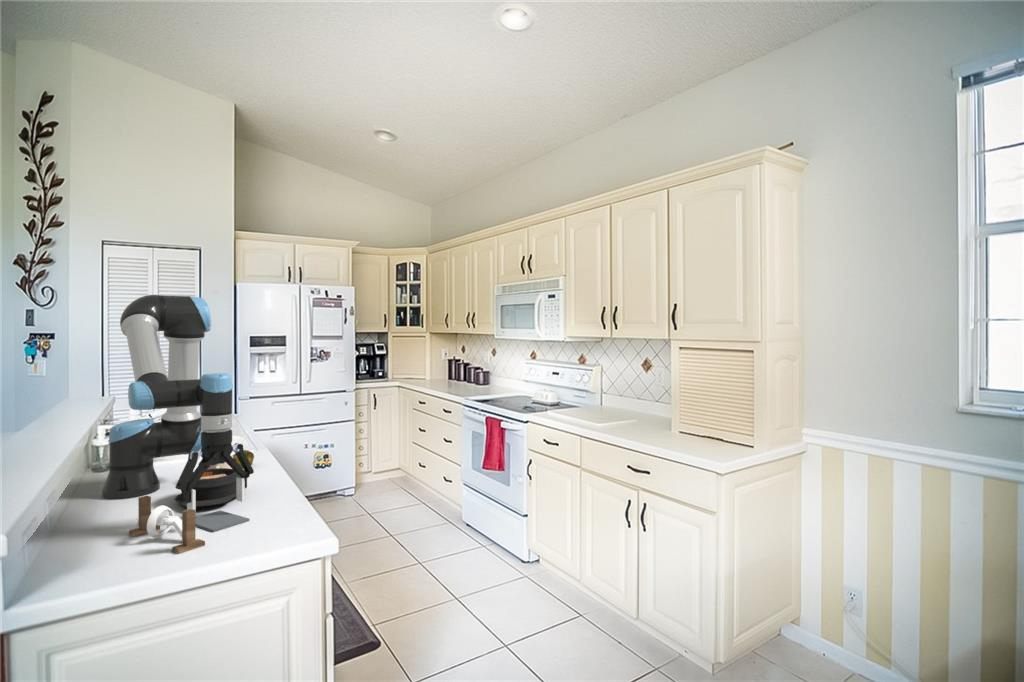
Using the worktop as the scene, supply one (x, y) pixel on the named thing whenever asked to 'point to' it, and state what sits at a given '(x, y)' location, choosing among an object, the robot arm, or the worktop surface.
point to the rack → (144, 514)
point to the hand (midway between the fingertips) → (216, 507)
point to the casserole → (213, 487)
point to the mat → (218, 520)
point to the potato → (248, 454)
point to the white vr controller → (163, 521)
